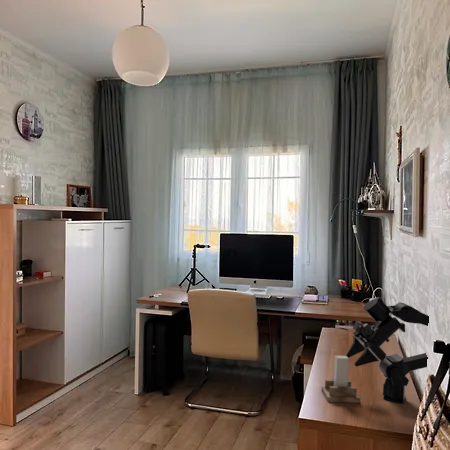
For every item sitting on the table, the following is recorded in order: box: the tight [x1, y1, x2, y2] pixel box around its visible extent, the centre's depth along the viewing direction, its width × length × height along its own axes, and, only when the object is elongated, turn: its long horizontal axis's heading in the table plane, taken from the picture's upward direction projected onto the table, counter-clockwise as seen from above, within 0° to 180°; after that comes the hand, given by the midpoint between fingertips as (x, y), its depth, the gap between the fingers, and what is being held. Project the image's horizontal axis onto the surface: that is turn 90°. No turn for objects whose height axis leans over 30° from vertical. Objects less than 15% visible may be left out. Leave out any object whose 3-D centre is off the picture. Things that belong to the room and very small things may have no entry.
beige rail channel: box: [320, 378, 361, 404], centre depth 151 cm, size 11×9×4 cm
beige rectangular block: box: [333, 355, 350, 387], centre depth 151 cm, size 4×3×12 cm
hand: (351, 360), depth 151 cm, fingers open, 9 cm apart
